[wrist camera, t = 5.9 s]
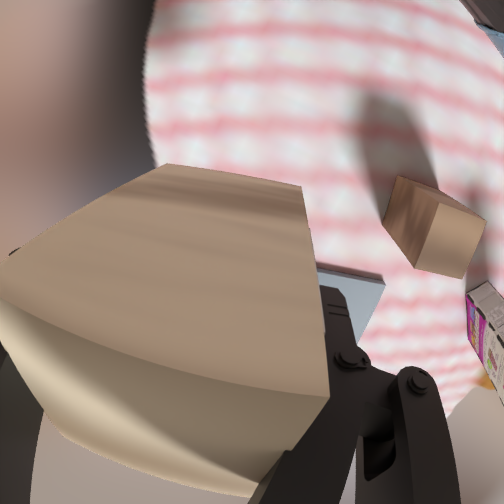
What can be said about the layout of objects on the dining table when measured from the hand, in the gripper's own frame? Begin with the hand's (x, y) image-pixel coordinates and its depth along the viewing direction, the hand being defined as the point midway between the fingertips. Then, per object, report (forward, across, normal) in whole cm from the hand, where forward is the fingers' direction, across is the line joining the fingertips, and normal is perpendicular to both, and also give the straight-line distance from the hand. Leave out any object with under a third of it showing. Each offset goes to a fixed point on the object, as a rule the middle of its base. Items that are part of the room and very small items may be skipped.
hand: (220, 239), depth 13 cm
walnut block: (+18, +18, 0) cm, 26 cm away
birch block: (0, 0, 0) cm, 0 cm away
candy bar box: (+19, +38, -12) cm, 44 cm away
